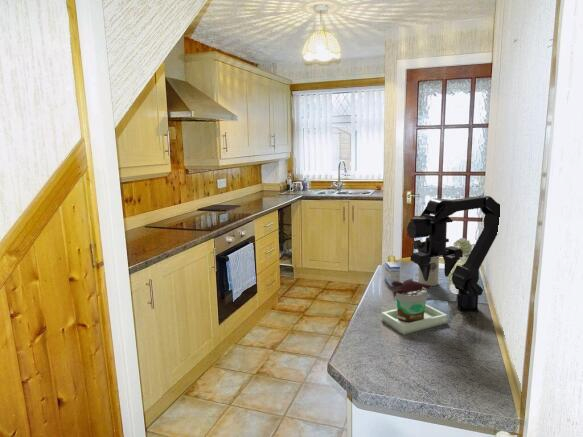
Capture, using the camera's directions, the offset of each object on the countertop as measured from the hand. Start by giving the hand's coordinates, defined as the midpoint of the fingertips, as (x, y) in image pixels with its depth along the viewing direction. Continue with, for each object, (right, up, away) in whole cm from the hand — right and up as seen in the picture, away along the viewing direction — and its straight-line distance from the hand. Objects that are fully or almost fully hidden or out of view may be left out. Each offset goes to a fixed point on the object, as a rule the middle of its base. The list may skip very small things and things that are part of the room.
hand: (436, 278), depth 148 cm
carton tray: (-9, -14, -4) cm, 17 cm away
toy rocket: (-3, -10, +20) cm, 23 cm away
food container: (-9, -14, -4) cm, 17 cm away
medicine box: (-7, -7, +34) cm, 36 cm away
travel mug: (+8, -7, +32) cm, 34 cm away
